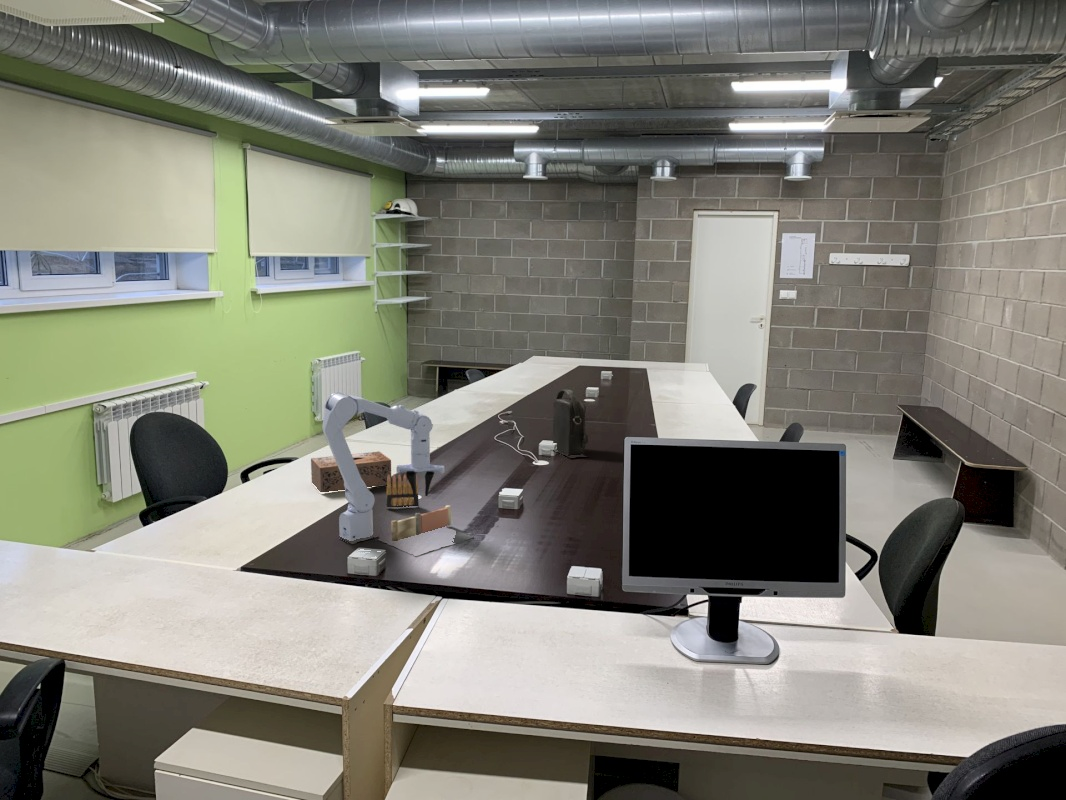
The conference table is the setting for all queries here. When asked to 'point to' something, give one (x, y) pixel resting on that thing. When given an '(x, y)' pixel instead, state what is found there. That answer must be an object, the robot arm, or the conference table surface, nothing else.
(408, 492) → the ammunition clip
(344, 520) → the robot arm
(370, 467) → the tissue box cover
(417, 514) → the fence base
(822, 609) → the conference table surface
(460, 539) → the card
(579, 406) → the shoulder bag
